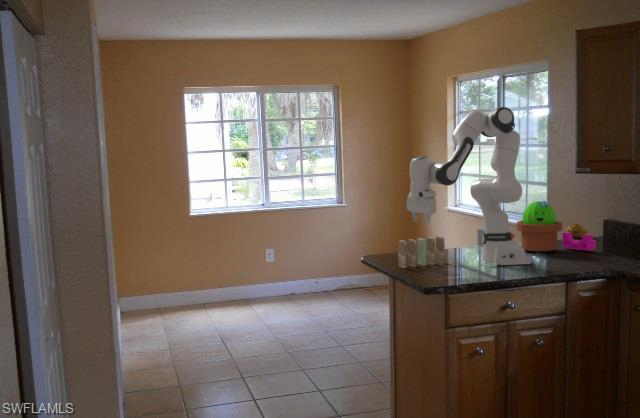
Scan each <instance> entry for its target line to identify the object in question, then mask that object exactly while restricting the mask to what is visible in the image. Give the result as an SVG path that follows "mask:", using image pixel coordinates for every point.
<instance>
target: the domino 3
mask: <svg viewBox="0 0 640 418" xmlns="http://www.w3.org/2000/svg"><path fill="white" fill-rule="evenodd" d="M445 245H446V244H445V237H443V236H440V235H439V236H435V260H436V263H439V264H441V265H442V264H445V263H446V259H445V258H446V257H445V256H446V255H445V254H446V253H445V251H446V250H445Z"/></svg>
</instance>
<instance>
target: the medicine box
mask: <svg viewBox="0 0 640 418" xmlns="http://www.w3.org/2000/svg"><path fill="white" fill-rule="evenodd" d="M483 232H484V228H478V229H477V246H484V244H483Z"/></svg>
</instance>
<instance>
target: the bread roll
mask: <svg viewBox="0 0 640 418" xmlns="http://www.w3.org/2000/svg"><path fill="white" fill-rule="evenodd" d="M565 232H571V235H572V237H573V238H581V237H582V238H583V235H587V234H588V229H587V227H586V226H585V225H583V224H580V223H577V222H576V223H570V224H569V225H568V226H567V228H566V230H565Z"/></svg>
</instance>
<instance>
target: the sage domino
mask: <svg viewBox="0 0 640 418" xmlns="http://www.w3.org/2000/svg"><path fill="white" fill-rule="evenodd" d="M416 257H417V265H420V266H423V267H425V266H427V245H426V238H421V237H420V238H419V237H418V238H416Z"/></svg>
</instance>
